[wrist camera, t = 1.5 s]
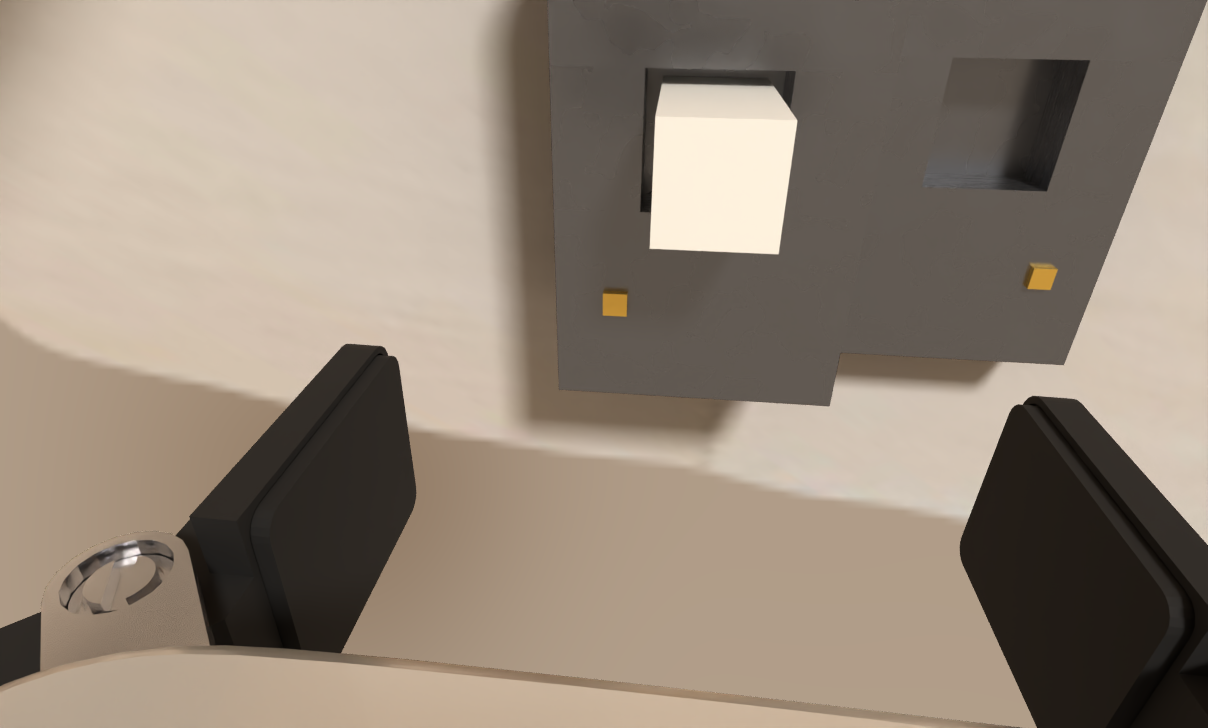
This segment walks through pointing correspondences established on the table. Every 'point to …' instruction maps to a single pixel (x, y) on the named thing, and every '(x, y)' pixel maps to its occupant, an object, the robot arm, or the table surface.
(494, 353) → the table surface
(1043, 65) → the panel
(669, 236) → the plug
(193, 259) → the table surface
